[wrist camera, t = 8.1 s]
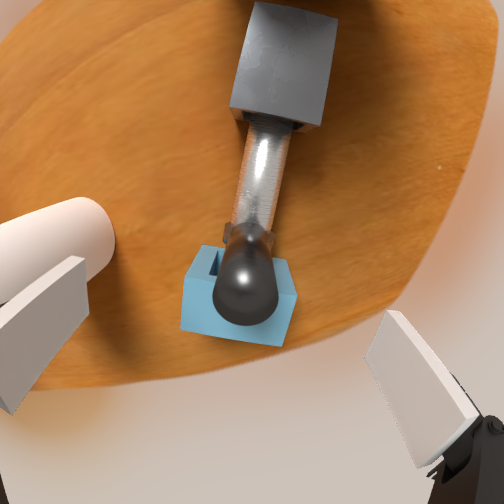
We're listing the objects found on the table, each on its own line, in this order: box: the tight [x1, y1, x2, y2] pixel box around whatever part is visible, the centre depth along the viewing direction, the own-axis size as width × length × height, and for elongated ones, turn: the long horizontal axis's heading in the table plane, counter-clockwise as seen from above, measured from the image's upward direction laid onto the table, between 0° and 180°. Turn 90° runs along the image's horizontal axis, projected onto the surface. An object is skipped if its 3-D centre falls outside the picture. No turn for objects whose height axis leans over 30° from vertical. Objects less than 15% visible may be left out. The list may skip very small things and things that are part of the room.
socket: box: [180, 244, 297, 347], centre depth 23 cm, size 4×8×7 cm, turn 79°
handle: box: [212, 113, 294, 326], centre depth 17 cm, size 17×4×12 cm, turn 169°
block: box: [229, 1, 338, 134], centre depth 17 cm, size 9×6×6 cm, turn 169°
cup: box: [0, 197, 115, 304], centre depth 17 cm, size 8×8×16 cm
